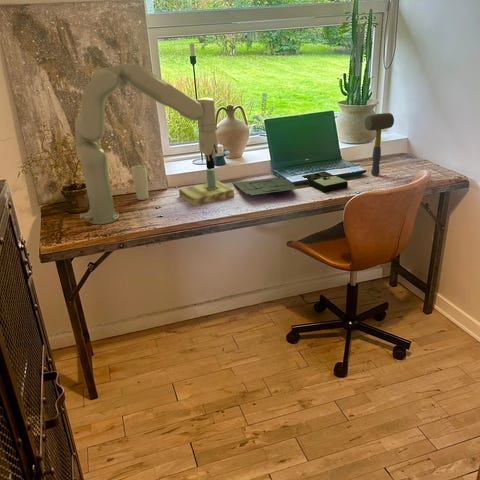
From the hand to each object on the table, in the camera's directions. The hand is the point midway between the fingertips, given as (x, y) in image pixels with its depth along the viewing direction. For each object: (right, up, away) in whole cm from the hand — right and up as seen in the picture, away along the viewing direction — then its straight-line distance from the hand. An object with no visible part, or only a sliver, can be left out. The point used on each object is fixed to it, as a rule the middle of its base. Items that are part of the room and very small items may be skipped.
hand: (210, 168), depth 215 cm
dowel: (0, -12, +6) cm, 13 cm away
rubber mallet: (+80, -1, +20) cm, 83 cm away
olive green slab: (-2, -12, +4) cm, 13 cm away
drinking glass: (-32, -13, +6) cm, 35 cm away
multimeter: (+53, -7, +12) cm, 55 cm away
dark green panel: (+25, -9, +9) cm, 28 cm away
